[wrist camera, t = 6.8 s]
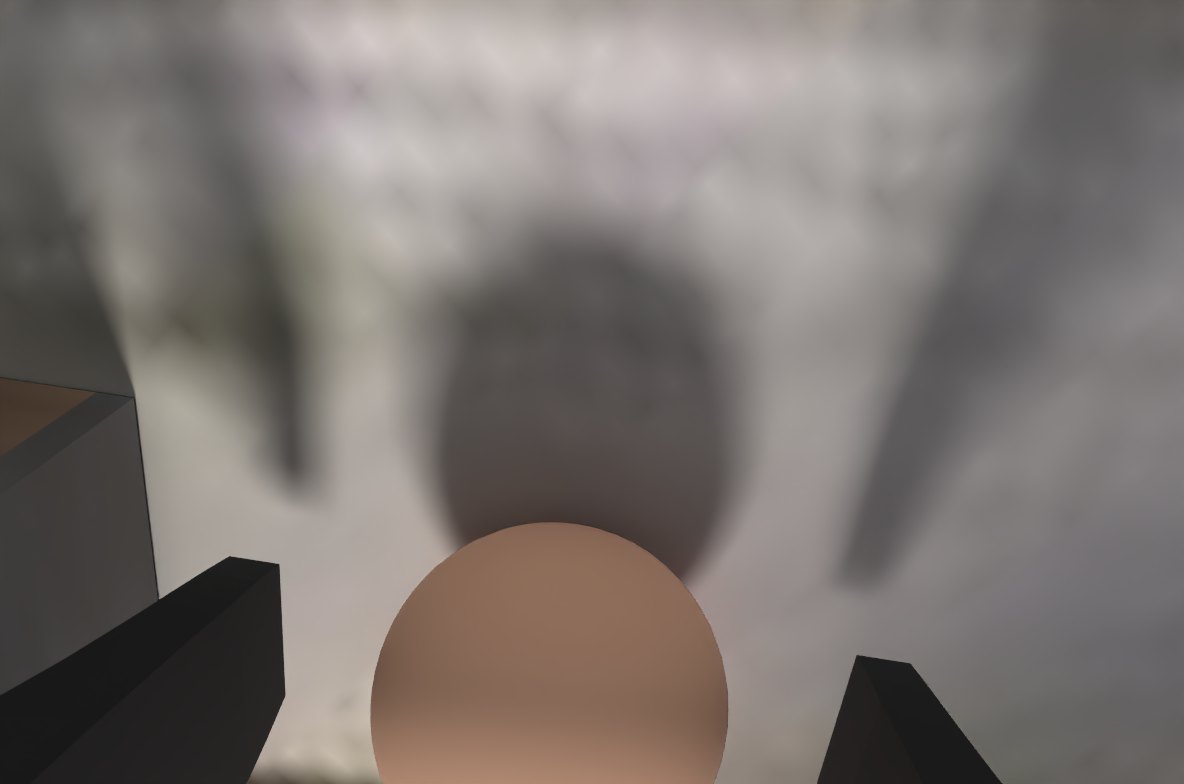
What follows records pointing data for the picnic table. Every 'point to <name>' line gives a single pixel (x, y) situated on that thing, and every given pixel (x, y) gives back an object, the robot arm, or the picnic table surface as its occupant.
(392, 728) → the terracotta ball
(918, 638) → the picnic table surface
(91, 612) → the divided wooden sorting box
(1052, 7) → the picnic table surface
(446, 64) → the picnic table surface
